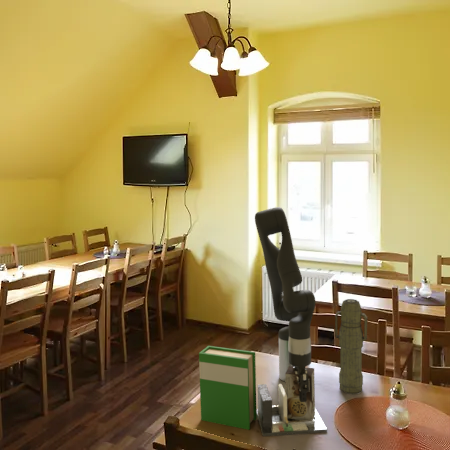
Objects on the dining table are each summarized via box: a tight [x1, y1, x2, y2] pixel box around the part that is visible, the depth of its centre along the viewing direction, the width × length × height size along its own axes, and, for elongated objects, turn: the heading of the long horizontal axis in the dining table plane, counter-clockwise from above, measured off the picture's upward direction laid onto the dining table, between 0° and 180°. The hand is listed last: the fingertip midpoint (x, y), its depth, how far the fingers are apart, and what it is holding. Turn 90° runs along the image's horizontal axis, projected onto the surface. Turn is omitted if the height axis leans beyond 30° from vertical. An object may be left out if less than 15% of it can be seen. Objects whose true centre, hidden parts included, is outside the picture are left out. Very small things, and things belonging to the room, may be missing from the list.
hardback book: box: [198, 345, 258, 430], centre depth 165 cm, size 18×7×24 cm, turn 66°
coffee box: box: [285, 366, 316, 420], centre depth 163 cm, size 9×6×16 cm
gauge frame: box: [256, 383, 328, 437], centre depth 163 cm, size 16×21×11 cm
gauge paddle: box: [277, 383, 288, 427], centre depth 161 cm, size 12×1×10 cm, turn 4°
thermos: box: [334, 298, 368, 395], centre depth 185 cm, size 9×12×35 cm
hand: (300, 395), depth 163 cm, fingers closed on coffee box, 8 cm apart
